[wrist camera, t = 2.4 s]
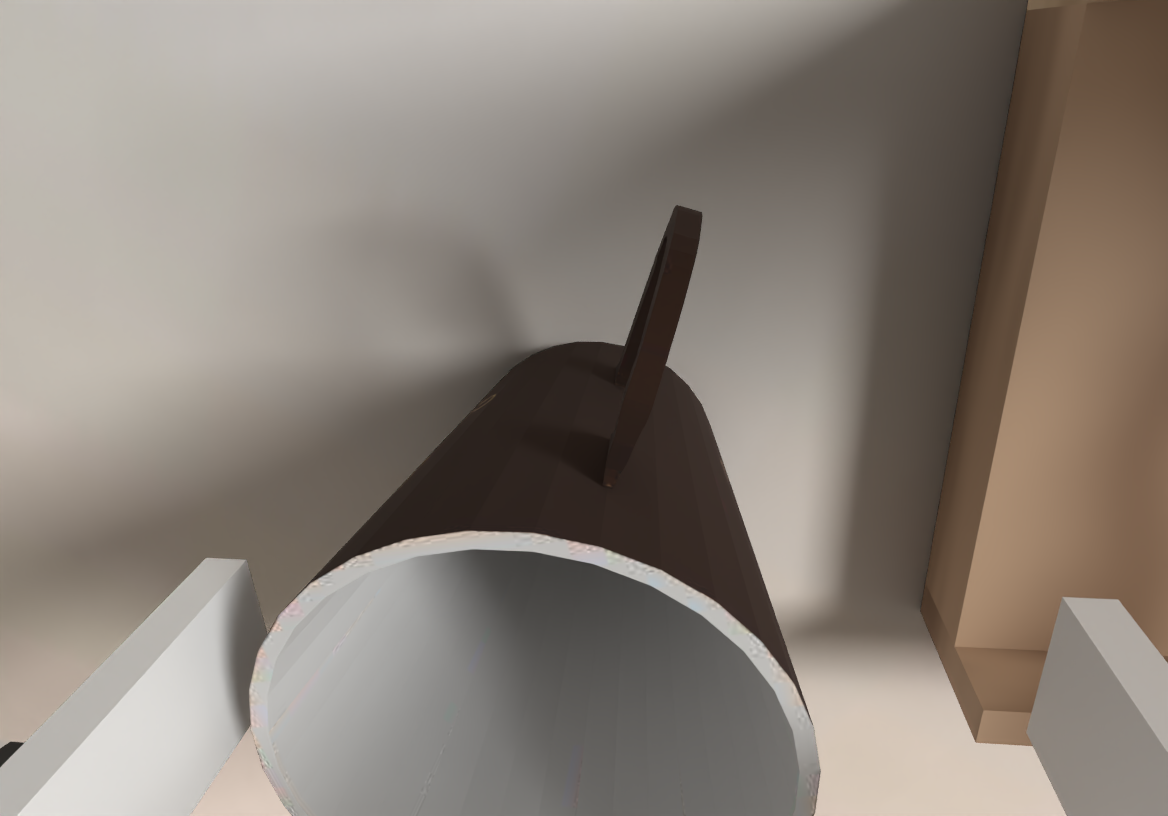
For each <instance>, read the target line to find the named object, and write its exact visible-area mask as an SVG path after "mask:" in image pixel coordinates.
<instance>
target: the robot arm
mask: <svg viewBox="0 0 1168 816" xmlns="http://www.w3.org/2000/svg"><path fill="white" fill-rule="evenodd" d="M267 635H268V634H267V631H266V627H265V623H264V620H263V616H262V613H261V609H260V605H259V602H258V598H257V595H256V591H255V588H254V584H253V580H252V577H251V573H250V570H249V566H248V562H247V560H244V559H222V558H205V560H204V561H203V562H202V563H201V564H200V565H199V566H198V567H197V568H196V569H195V570H194V571H193V572H192V573H191V574H190V575H189V576H188V577H187V578H186V579H185V580H184V581H183V582H182V583H181V584H180V585H179V586H178V587H177V588H176V589H175V590H174V591H173V592H172V593H171V594H170V595H169V596H168V597H167V598H166V599H165V600H164V601H163V602H162V603H161V604H160V605H159V606H158V607H157V608H156V609H155V610H154V611H153V612H152V613H151V614H150V616H149V617H148V618H147V619H146V620H145V621H144V622H143V623H142V624H141V625H140V626H139V627H138V628H137V629H136V630H135V631H134V632H133V633H132V634H131V635H130V636H129V637H128V638H127V639H126V640H125V641H124V642H123V643H122V644H121V645H120V646H119V647H118V648H117V649H116V650H115V651H114V652H113V653H112V654H111V655H110V656H109V657H108V658H107V659H106V660H105V661H104V662H103V663H102V664H101V665H100V666H99V667H98V668H97V669H96V670H95V672H94V673H93V674H92V675H91V676H90V677H89V678H88V679H87V680H86V681H85V682H84V683H83V684H82V685H81V686H80V687H79V688H78V689H77V690H76V691H75V692H74V693H73V694H72V695H71V696H70V697H69V698H68V699H67V700H66V701H65V702H64V703H63V704H62V705H61V706H60V707H59V708H58V709H57V710H56V711H55V712H54V713H53V714H52V715H51V716H50V717H49V718H48V719H47V720H46V721H45V722H44V723H43V724H42V725H41V726H40V728H39V729H38V730H37V731H36V732H35V733H34V734H33V735H32V736H31V737H30V738H29V739H28V740H27V741H26V742H25V743H20V742H9V743H8V744H6V745H5V746H4V747H2V748H1V749H0V816H190V815H191V813H192V812H193V810H194V809H195V807H196V806H197V804H198V803H199V801H200V800H201V798H202V797H203V795H204V794H205V792H206V791H207V789H208V788H209V786H210V785H211V783H212V782H213V780H214V779H215V777H216V776H217V774H218V773H219V771H220V770H221V768H222V767H223V765H224V764H225V762H226V761H227V759H228V758H229V756H230V755H231V753H232V752H233V750H234V749H235V747H236V746H237V744H238V743H239V741H240V740H241V738H242V737H243V735H244V734H245V732H246V731H247V729H248V728H249V726H250V725H251V722H250V703H249V688H250V684H251V679H252V675H253V671H254V666H255V662H256V657H257V653H258V651H259V649H260V647H261V645H262V644H263V642H264V640H265V638H266V636H267ZM1026 733H1027V735H1028V737H1029V739H1030V741H1031V743H1032V745H1033V747H1034V749H1035V751H1036V753H1037V755H1038V757H1039V759H1040V762H1041V764H1042V766H1043V768H1044V770H1045V772H1046V774H1047V776H1048V778H1049V780H1050V782H1051V784H1052V786H1053V788H1054V790H1055V792H1056V794H1057V796H1058V798H1059V801H1060V803H1061V805H1062V807H1063V809H1064V811H1065V813H1066V815H1067V816H1168V663H1167V662H1166V660H1165V659H1164V658H1163V656H1162V655H1161V654H1160V653H1159V651H1158V650H1157V649H1156V647H1155V646H1154V645H1153V644H1152V642H1151V641H1150V640H1149V638H1148V637H1147V636H1146V635H1145V633H1144V632H1143V631H1142V629H1141V628H1140V627H1139V626H1138V624H1137V623H1136V622H1135V620H1134V619H1133V618H1132V617H1131V615H1130V614H1129V613H1128V611H1127V610H1126V609H1125V608H1124V606H1123V605H1122V604H1121V602H1120V601H1119V600H1117V599H1095V598H1073V597H1062V600H1061V604H1060V608H1059V612H1058V615H1057V619H1056V623H1055V627H1054V630H1053V634H1052V638H1051V642H1050V645H1049V649H1048V653H1047V657H1046V660H1045V664H1044V668H1043V672H1042V675H1041V679H1040V683H1039V687H1038V690H1037V694H1036V698H1035V702H1034V705H1033V709H1032V713H1031V717H1030V720H1029V724H1028V728H1027V732H1026Z"/></svg>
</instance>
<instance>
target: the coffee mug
mask: <svg viewBox="0 0 1168 816" xmlns="http://www.w3.org/2000/svg"><path fill="white" fill-rule="evenodd" d="M701 223H702V212H699V211H696V210H692V209H689V208H685V207H682V206H679V205H676V206H675V208H674V210H673V213H672V216H671V218H670V221H669V223H668V226H667V228H666V231H665V233H664V236H663V239H662V241H661V244H660V247H659V249H658V252H657V255H656V257H655V260H654V264H653V266H652V269H651V272H650V275H649V278H648V281H647V283H646V286H645V289H644V292H643V295H642V298H641V301H640V304H639V306H638V309H637V312H636V315H635V318H634V321H633V324H632V327H631V330H630V332H629V335H628V338H627V341H626V344H625V346H620V345H615V344H610V343H605V342H575V343H569V344H564V345H559V346H554V347H551V348H549V349H546V350H544V351H541V352H539V353H536V354H534V355H532V356H530V357H529V358H527V359H525V360H524V361H522V362H521V363H519V364H518V365H516V366H515V367H513V368H512V369H511V370H510V371H509V372H508V373H507V374H506V375H505V377H504V378H503V379H502V380H501V381H500V382H499V383H498V384H497V385H496V386H495V387H494V388H493V389H492V390H491V391H490V392H489V393H488V394H487V395H486V396H485V397H484V398H483V400H482V401H481V402H480V403H479V404H478V405H477V406H476V407H475V408H474V409H473V410H472V411H471V412H470V413H469V414H468V415H467V416H466V417H465V419H464V420H463V421H462V422H461V423H460V424H459V425H458V426H457V427H456V428H455V429H454V430H453V431H452V432H451V433H450V434H449V435H448V437H447V438H446V439H445V440H444V441H443V442H442V443H441V444H440V445H439V446H438V447H437V448H436V449H435V450H434V451H433V452H432V453H431V454H430V456H429V457H428V458H427V459H426V460H425V461H424V462H423V463H422V464H421V465H420V466H419V467H418V468H417V469H416V470H415V471H414V472H413V474H412V475H411V476H410V477H409V478H408V479H407V480H406V481H405V482H404V483H403V484H402V485H401V486H400V487H399V488H398V489H397V490H396V491H395V493H394V494H393V495H392V496H391V497H390V498H389V499H388V500H387V501H386V502H385V503H384V504H383V505H382V506H381V507H380V508H379V509H378V511H377V512H376V513H375V514H374V515H373V516H372V517H371V518H370V519H369V520H368V521H367V522H366V523H365V524H364V525H363V526H362V527H361V529H360V530H359V531H358V532H357V533H356V534H355V535H354V536H353V537H352V538H351V539H350V540H349V541H348V542H347V543H346V544H345V545H344V546H343V548H342V549H341V550H340V551H339V552H338V553H337V554H336V555H335V556H334V557H333V558H332V559H331V560H330V561H329V562H328V563H327V564H326V566H325V567H324V568H323V569H322V570H321V571H320V572H319V573H318V574H317V575H316V576H315V577H314V578H313V579H312V580H311V581H310V582H309V583H308V585H307V586H306V587H305V588H304V589H303V590H302V591H301V592H300V593H299V594H298V595H297V596H296V597H295V598H294V599H293V600H292V601H291V603H290V604H289V605H288V606H287V607H286V608H285V609H284V610H283V611H282V612H281V613H280V614H279V615H278V617H277V619H276V620H275V622H274V624H273V626H272V627H271V629H270V631H269V633H268V635H267V636H266V638H265V640H264V642H263V644H262V645H261V647H260V649H259V651H258V653H257V657H256V662H255V666H254V671H253V675H252V679H251V684H250V688H249V703H250V722H251V732H252V735H253V739H254V742H255V745H256V748H257V752H258V755H259V758H260V761H261V765H262V768H263V770H264V772H265V773H266V775H267V777H268V779H269V781H270V782H271V784H272V786H273V788H274V789H275V791H276V793H277V795H278V797H279V798H280V800H281V802H282V804H283V805H284V806H285V808H286V809H287V810H288V811H289V812H290V814H291V815H292V816H814V813H815V809H816V802H817V794H818V787H819V779H820V772H821V771H820V764H819V758H818V751H817V745H816V738H815V732H814V727H813V724H812V721H811V718H810V715H809V712H808V709H807V706H806V703H805V701H804V698H803V695H802V692H801V689H800V686H799V683H798V680H797V677H796V674H795V671H794V668H793V665H792V663H791V660H790V657H789V654H788V651H787V648H786V645H785V642H784V639H783V636H782V633H781V630H780V627H779V625H778V622H777V619H776V616H775V613H774V610H773V607H772V604H771V601H770V598H769V595H768V592H767V589H766V587H765V584H764V581H763V578H762V575H761V572H760V569H759V566H758V563H757V560H756V557H755V554H754V551H753V549H752V546H751V543H750V540H749V537H748V534H747V531H746V528H745V525H744V522H743V519H742V516H741V513H740V511H739V508H738V505H737V502H736V499H735V496H734V493H733V490H732V487H731V484H730V481H729V478H728V475H727V473H726V470H725V467H724V464H723V461H722V458H721V455H720V452H719V449H718V446H717V443H716V440H715V437H714V435H713V432H712V429H711V426H710V423H709V421H708V418H707V416H706V414H705V411H704V409H703V407H702V404H701V403H700V401H699V400H698V399H697V397H696V396H695V394H694V393H693V391H692V390H691V389H690V387H689V386H688V385H687V384H686V383H685V382H684V381H683V380H682V379H681V378H680V377H679V376H678V375H677V374H676V373H675V372H674V371H672V370H671V369H670V368H669V367H667V366H665V365H666V362H667V358H668V355H669V351H670V348H671V344H672V341H673V338H674V335H675V331H676V328H677V324H678V321H679V318H680V314H681V311H682V307H683V304H684V300H685V296H686V293H687V289H688V285H689V281H690V278H691V274H692V270H693V266H694V262H695V258H696V254H697V249H698V244H699V239H700V231H701Z"/></svg>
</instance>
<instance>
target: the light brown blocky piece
mask: <svg viewBox="0 0 1168 816" xmlns="http://www.w3.org/2000/svg"><path fill="white" fill-rule="evenodd" d="M1062 597H1073V598H1095V599H1117V600H1119V601H1120V602H1121V604H1122V605H1123V606H1124V608H1125V609H1126V610H1127V611H1128V613H1129V614H1130V615H1131V617H1132V618H1133V619H1134V620H1135V622H1136V623H1137V624H1138V626H1139V627H1140V628H1141V629H1142V631H1143V632H1144V633H1145V635H1146V636H1147V637H1148V638H1149V640H1150V641H1151V642H1152V644H1153V645H1154V646H1155V647H1156V649H1157V650H1158V651H1159V653H1160V654H1161V655H1162V656H1163V658H1164V659H1165V660H1166V662H1167V663H1168V0H1028V5H1027V11H1026V16H1025V22H1024V28H1023V33H1022V39H1021V45H1020V50H1019V56H1018V61H1017V67H1016V73H1015V78H1014V84H1013V90H1012V95H1011V101H1010V107H1009V112H1008V118H1007V124H1006V129H1005V135H1004V141H1003V146H1002V152H1001V158H1000V163H999V169H998V175H997V180H996V186H995V192H994V197H993V203H992V209H991V214H990V220H989V225H988V231H987V237H986V242H985V248H984V254H983V259H982V265H981V271H980V276H979V282H978V288H977V293H976V299H975V305H974V310H973V316H972V322H971V327H970V333H969V339H968V344H967V350H966V356H965V361H964V367H963V373H962V378H961V384H960V390H959V395H958V401H957V406H956V412H955V418H954V423H953V429H952V435H951V440H950V446H949V452H948V457H947V463H946V469H945V474H944V480H943V486H942V491H941V497H940V503H939V508H938V514H937V520H936V525H935V531H934V537H933V542H932V548H931V554H930V559H929V565H928V570H927V576H926V582H925V587H924V593H923V599H922V604H921V610H920V612H921V614H922V616H923V619H924V621H925V624H926V626H927V628H928V631H929V633H930V635H931V638H932V640H933V642H934V645H935V647H936V650H937V652H938V654H939V657H940V659H941V661H942V664H943V666H944V669H945V671H946V673H947V676H948V678H949V680H950V683H951V685H952V688H953V690H954V692H955V695H956V697H957V699H958V702H959V704H960V706H961V709H962V711H963V714H964V716H965V718H966V721H967V723H968V725H969V728H970V730H971V733H972V735H973V737H974V740H975V742H976V743H991V744H1008V745H1025V746H1033V745H1032V743H1031V741H1030V739H1029V737H1028V735H1027V733H1026V732H1027V728H1028V724H1029V720H1030V717H1031V713H1032V709H1033V705H1034V702H1035V698H1036V694H1037V690H1038V687H1039V683H1040V679H1041V675H1042V672H1043V668H1044V664H1045V660H1046V657H1047V653H1048V649H1049V645H1050V642H1051V638H1052V634H1053V630H1054V627H1055V623H1056V619H1057V615H1058V612H1059V608H1060V604H1061V600H1062Z"/></svg>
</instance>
